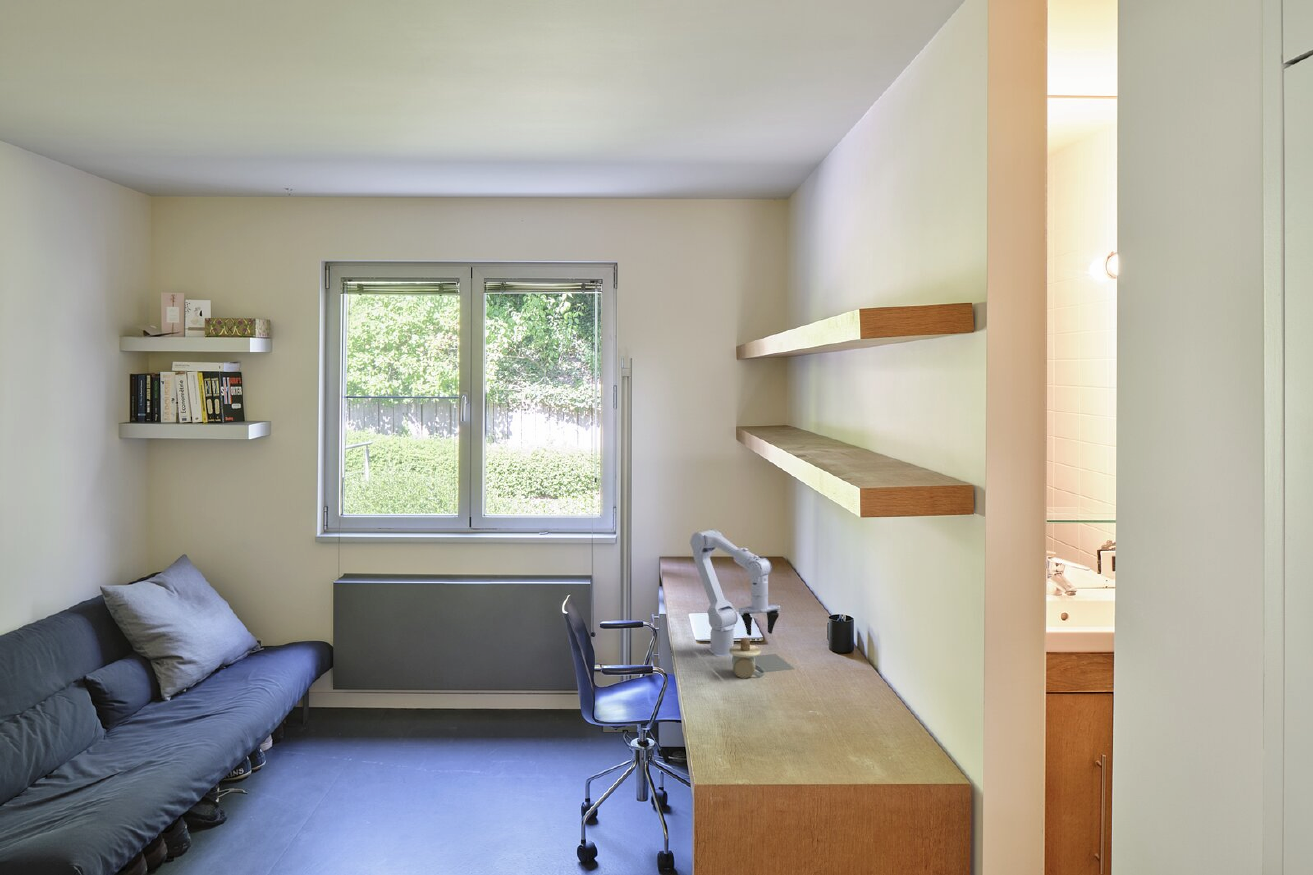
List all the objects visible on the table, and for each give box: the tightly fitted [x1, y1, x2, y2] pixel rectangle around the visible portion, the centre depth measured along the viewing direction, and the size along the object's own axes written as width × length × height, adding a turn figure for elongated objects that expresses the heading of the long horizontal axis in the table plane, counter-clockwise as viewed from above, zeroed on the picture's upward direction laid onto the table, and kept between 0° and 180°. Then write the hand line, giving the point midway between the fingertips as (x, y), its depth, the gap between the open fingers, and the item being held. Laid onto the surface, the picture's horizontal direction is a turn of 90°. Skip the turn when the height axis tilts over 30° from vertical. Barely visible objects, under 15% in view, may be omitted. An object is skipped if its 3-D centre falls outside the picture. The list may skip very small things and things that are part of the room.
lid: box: [729, 637, 762, 657], centre depth 268 cm, size 10×10×4 cm
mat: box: [755, 653, 796, 673], centre depth 279 cm, size 16×12×1 cm
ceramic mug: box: [731, 655, 766, 679], centre depth 268 cm, size 11×8×8 cm
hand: (759, 633), depth 279 cm, fingers open, 7 cm apart
